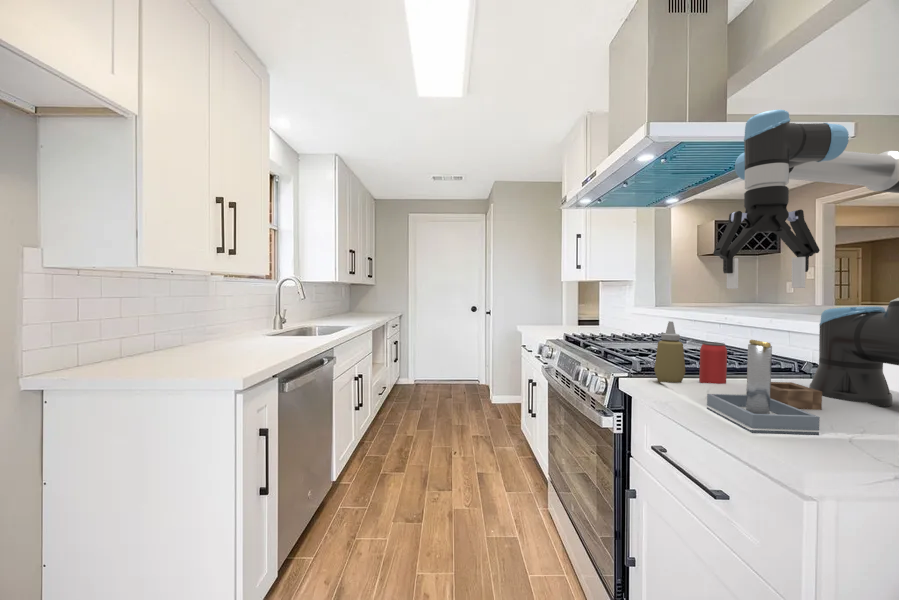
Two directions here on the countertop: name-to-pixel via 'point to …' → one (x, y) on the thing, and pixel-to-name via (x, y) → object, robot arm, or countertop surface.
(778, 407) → the tray
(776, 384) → the block
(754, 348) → the steel pin
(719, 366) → the beer can
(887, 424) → the countertop surface
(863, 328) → the robot arm
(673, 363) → the squeeze bottle
